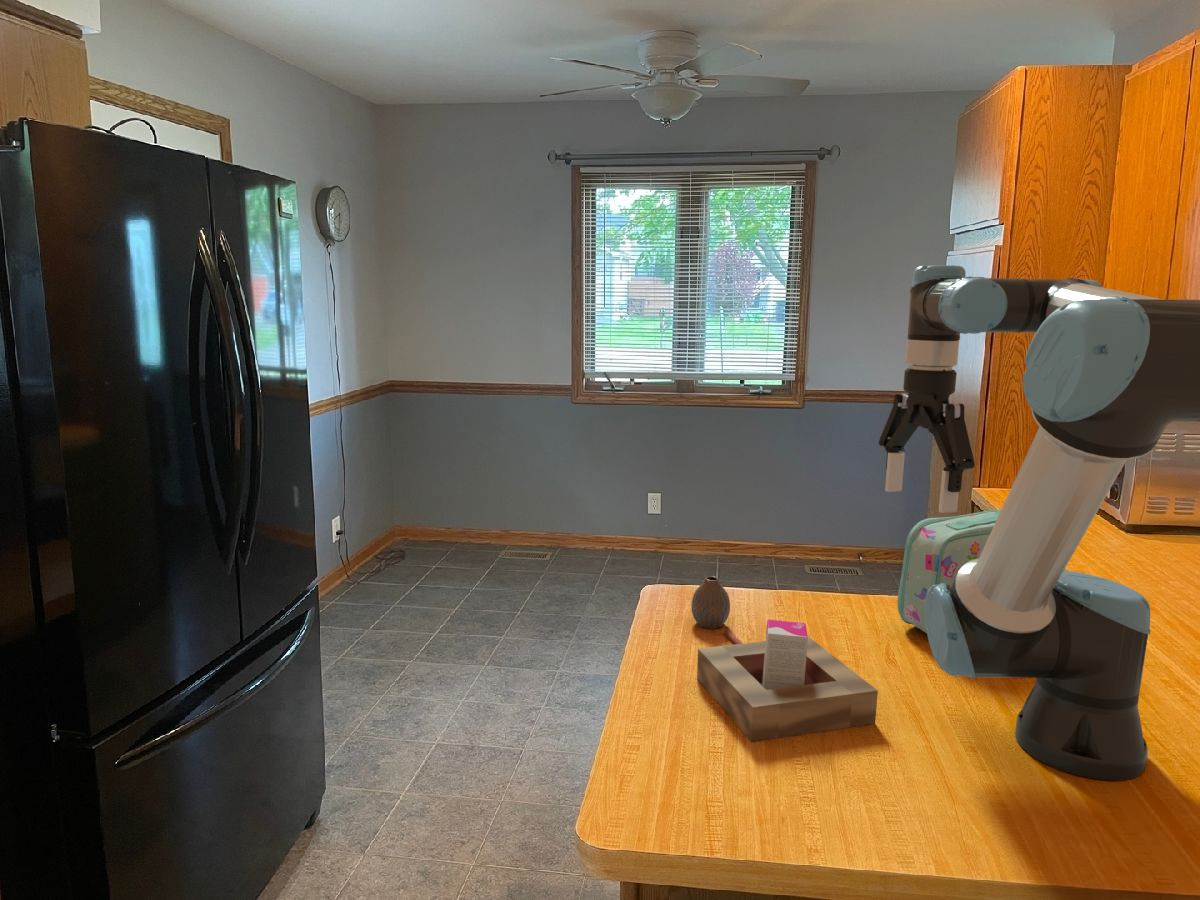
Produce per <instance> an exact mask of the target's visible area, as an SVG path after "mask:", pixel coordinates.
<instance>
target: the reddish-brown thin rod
mask: <svg viewBox="0 0 1200 900" xmlns="http://www.w3.org/2000/svg"><path fill="white" fill-rule="evenodd" d="M723 634H724V635H725V636H726V637H727V638H728V639H729V640H730V641H731V642H732V643H734V644H743V642H742V640H740V639H739V638H738V637H737V636H736V635H735V634H734V633H733V632H731V631H730V629H728V628H724V630H723Z"/></svg>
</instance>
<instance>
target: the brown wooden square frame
mask: <svg viewBox="0 0 1200 900" xmlns="http://www.w3.org/2000/svg"><path fill="white" fill-rule="evenodd" d="M807 636H808V635H807ZM742 643H743V642H742ZM765 643H766V640H764V641H754V642H746V643H745V642H744V643H743V644H735V643H734V644H727V645H718V646H717V645H716V646H708V647H700V648H697V665H696V666H697V667H696V670H697V671H696V679H697V681H699V683H700V684H701V685H702V686H703V688H704V689H705V690H706V691H707V692H708V693H709V695H710V696H711V697H712V698H713V699H714V701H716V703H717V704H718V705H719V707H720V708H721V709H722V710H723V711H724V712H725V713H726V714H727V715H728V717H729V718H730V719H731V720H732V722H733V723H734V724H735V725H736V726H737V727H738V728H739V730H740V732H742V733H743V734H744V735H745V737H746V738H747V739H748V741H750V742H751V743H752V742H760V741H765V740H773V739H780V738H787V737H793V736H800V735H806V734H814V733H820V732H821V733H822V732H827V731H828V732H829V731H834V730H841V729H848V728H855V727H862V726H868V725H875V724H876V719H877V705H878V694H879V693H878V691H879V690H878V689H877V688H875V687H874V686H873V685H872V684H870V683H868V681H867V680H866V679H864V678H862V677H861V676H860V675H858V674H857V672H855V671H853V670H852V669H851V668H850V667H848V666H847V665H846V664H845V663H843V662H842V661H841V660H839V659H838V658H837V657H835V655H833V654H832V653H831V652H829V651H828V650H827V649H826V648H824V647H823V646H821V645H820V644H819V642H818V643H817V642H816V641H815V640H814V639H812V638H811V637H810V636H808V642H807V655H806V668H805V680H804V685H801V686H793V687H786V688H778V689H770V690H766V689H765V688H764V687H763V686H762V681H763V668H764V657H765Z"/></svg>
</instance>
